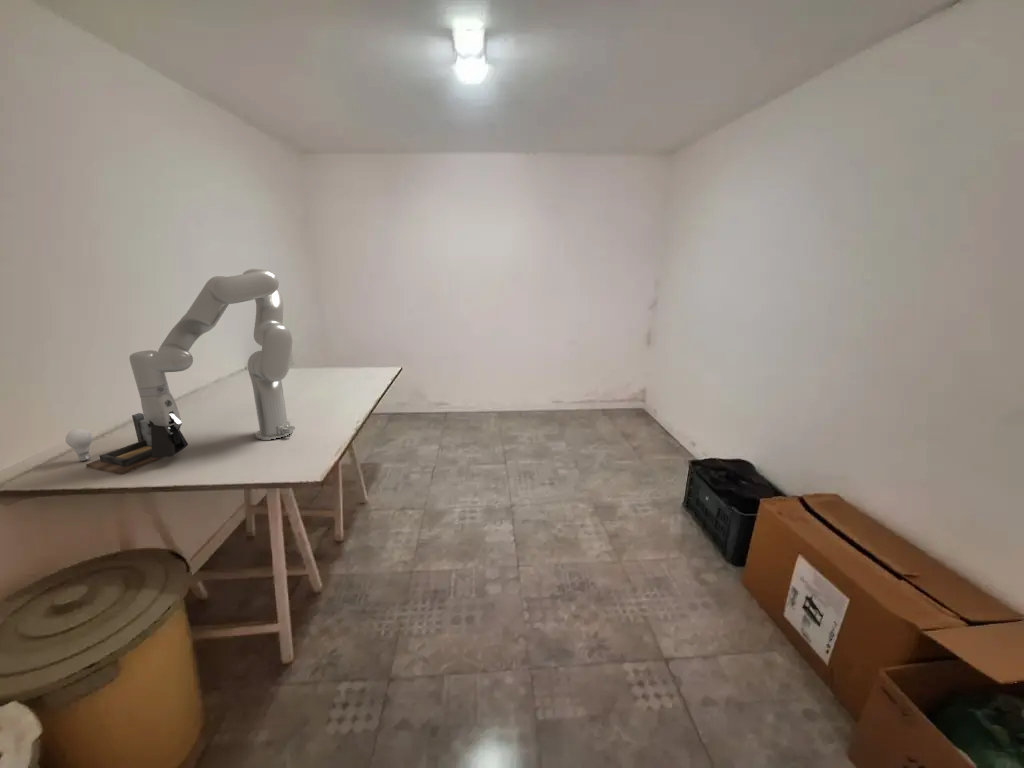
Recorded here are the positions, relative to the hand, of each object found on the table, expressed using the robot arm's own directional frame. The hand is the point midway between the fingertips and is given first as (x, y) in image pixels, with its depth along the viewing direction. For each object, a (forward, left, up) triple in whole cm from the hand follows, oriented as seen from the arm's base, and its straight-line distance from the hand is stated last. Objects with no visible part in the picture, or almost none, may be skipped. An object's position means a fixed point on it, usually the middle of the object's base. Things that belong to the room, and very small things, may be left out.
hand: (168, 442), depth 151 cm
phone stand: (0, 0, -3) cm, 3 cm away
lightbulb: (+27, +9, -7) cm, 30 cm away
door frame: (+13, +3, -6) cm, 15 cm away
